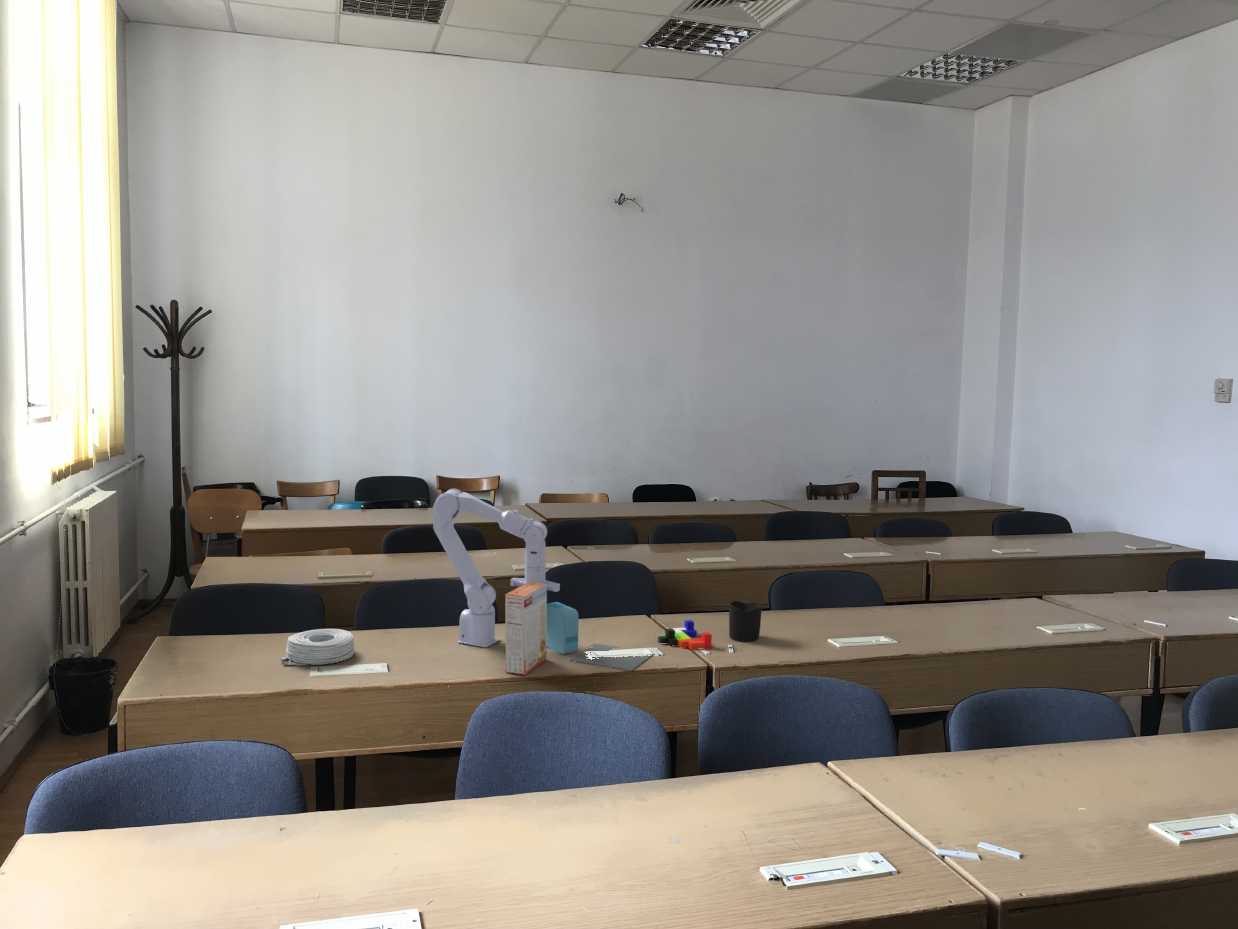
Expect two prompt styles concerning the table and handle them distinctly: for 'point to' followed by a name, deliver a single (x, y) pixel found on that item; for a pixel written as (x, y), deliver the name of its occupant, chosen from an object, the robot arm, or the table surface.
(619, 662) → the mat
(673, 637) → the building blocks
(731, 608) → the pen holder
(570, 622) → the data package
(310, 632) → the cable
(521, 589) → the cracker box
